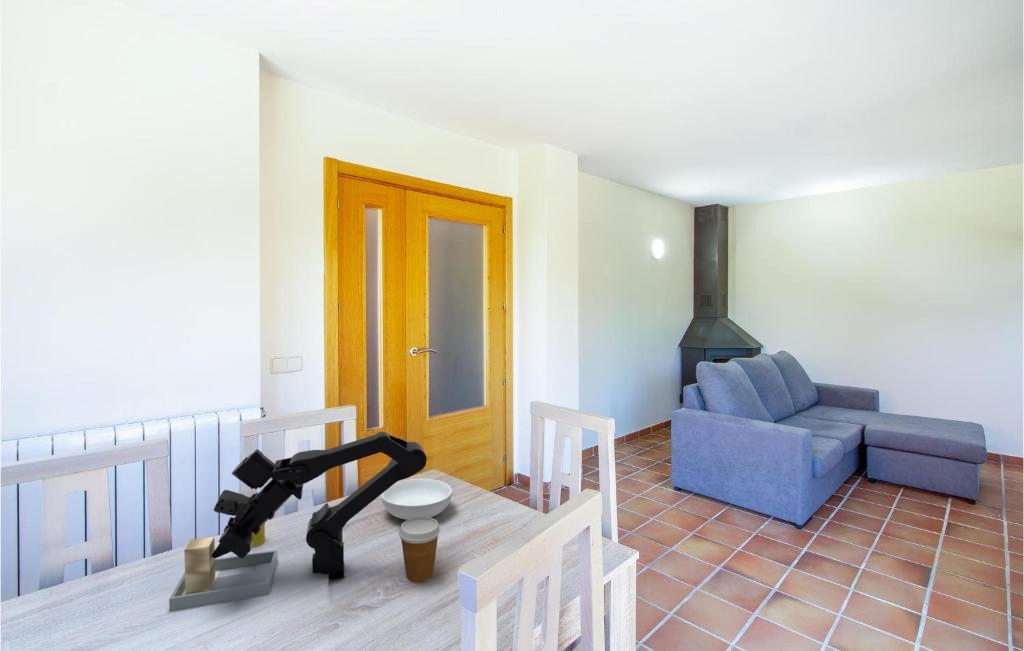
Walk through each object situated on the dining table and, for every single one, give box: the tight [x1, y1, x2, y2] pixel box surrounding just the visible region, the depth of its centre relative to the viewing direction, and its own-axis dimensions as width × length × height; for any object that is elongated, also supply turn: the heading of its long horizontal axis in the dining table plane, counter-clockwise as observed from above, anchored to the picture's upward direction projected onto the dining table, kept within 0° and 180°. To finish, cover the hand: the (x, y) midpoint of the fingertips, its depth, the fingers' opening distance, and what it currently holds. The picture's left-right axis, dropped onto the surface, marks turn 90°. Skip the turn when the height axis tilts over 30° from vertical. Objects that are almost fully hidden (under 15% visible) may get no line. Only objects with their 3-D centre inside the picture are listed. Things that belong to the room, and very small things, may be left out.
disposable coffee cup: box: [398, 517, 441, 583], centre depth 113 cm, size 10×10×12 cm
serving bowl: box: [380, 478, 453, 521], centre depth 146 cm, size 21×21×7 cm
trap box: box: [168, 549, 278, 612], centre depth 107 cm, size 18×14×4 cm
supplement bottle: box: [251, 522, 266, 549], centre depth 124 cm, size 5×5×10 cm
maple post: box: [183, 536, 216, 595], centre depth 105 cm, size 4×4×10 cm
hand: (213, 556), depth 106 cm, fingers closed, pressing on maple post
